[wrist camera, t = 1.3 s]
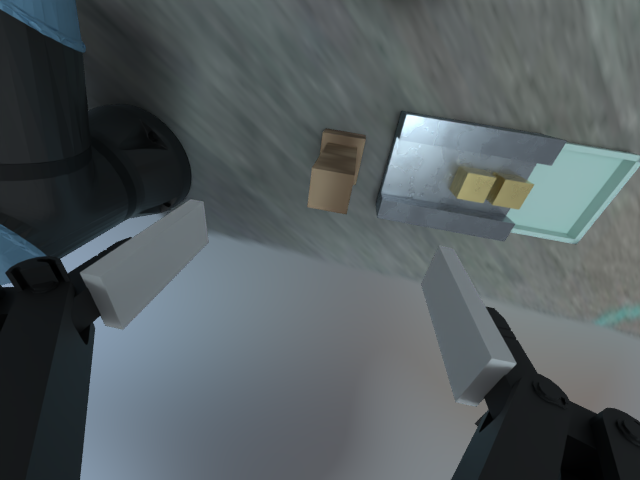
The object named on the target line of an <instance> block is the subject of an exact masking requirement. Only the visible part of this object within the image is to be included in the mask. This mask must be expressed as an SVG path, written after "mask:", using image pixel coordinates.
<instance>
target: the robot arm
mask: <svg viewBox="0 0 640 480" xmlns="http://www.w3.org/2000/svg"><path fill="white" fill-rule="evenodd" d="M83 52H84V53H85V52H86V47H85V45H84V43H83V42H82V41H81V34H80V28H79V22H78V15H77V8H76V1H75V0H0V480H80V474H81V464H82V454H83V443H84V433H85V424H86V414H87V403H88V394H89V383H90V374H91V364H92V354H93V344H94V334H95V327H94V324H93V321H95V320H96V319H97V318H98V317H99V316H101V318H102V320H103V322H104V324H105V326H109V327H114V328H118V329H124V328H125V327H126V326H127V325H128V324H129V323H130V322H131V321H132V320H133V319H134V318H135V317H136V316H137V315H138V314H139V313H140V312H141V311H142V310H143V309H144V308H145V307H146V306H147V305H148V304H149V303H150V302H151V301H152V300H153V299H154V298H155V297H156V296H157V295H158V294H159V293H160V292H161V291H162V290H163V288H164V287H165V286H166V285H167V284H168V283H169V282H170V281H171V280H172V279H173V278H174V277H175V276H176V275H177V274H178V273H179V272H180V271H181V270H182V269H183V268H184V267H185V266H186V265H187V264H188V263H189V262H190V261H191V260H192V259H193V258H194V257H195V256H196V255H197V254H198V253H199V252H200V251H201V250H202V249H203V248H204V246H206V245H207V244H208V233H207V225H206V217H205V209H204V202H203V201H198V200H192V199H190V200H189V201H187V202H186V203H184V204H183V205H181V206H180V207H178V208H177V209H175V210H174V211H172V212H171V213H169V214H168V215H166V216H164V217H163V218H161V219H160V220H159V221H157V222H155V223H154V224H152V225H151V226H150V227H148V228H146V229H145V230H143V231H142V232H140V233H139V234H137V235H136V236H134V237H133V238H132V237H129V238H126V239H124V240H121V241H118V242H116V243H115V244H113V245H112V246H110V247H108V248H107V250H104V251H103V252H101V253H99V254H98V256H94V257H93V258H91V259H90V260H88V261H87V262H85V263H83V264H82V265H80V266H79V267H77V268H76V269H74V270H73V271H71V272H69V273H67V272H66V270H65V268H64V266H63V264H62V262H61V260H60V258H62V257H64V256H65V255H67V254H69V253H71V252H72V251H74V250H76V249H77V248H79V247H81V246H82V245H84V244H86V243H88V242H89V241H91V240H93V239H94V238H96V237H98V236H99V235H101V234H103V233H105V232H106V231H108V230H110V229H111V228H113V227H115V226H116V225H118V224H120V223H121V222H123V221H125V220H127V219H129V218H134V217H140V216H146V215H152V214H158V213H162V212H165V211H167V210H170V209H171V208H173V207H174V206H176V205H177V204H179V203H180V202H181V201H183V199H184V198H185V197H186V195H187V194H188V191H189V188H190V183H191V171H190V166H189V162H188V159H187V156H186V154H185V152H184V150H183V148H182V146H181V144H180V142H179V141H178V139H177V138H176V137H175V135H174V134H173V133H172V132H171V130H170V129H169V128H168V127H167V126H166V125H165V124H164V123H162V122H161V121H160V120H159V119H158V118H156V117H155V116H153V115H152V114H150V113H149V112H147V111H145V110H143V109H140V108H138V107H135V106H131V105H125V104H116V105H105V106H100V107H96V108H94V109H92V110H90V111H88V106H87V95H86V84H85V73H84V62H83ZM7 283H12V284H13V286H14V287H2V286H1V285H4V284H7ZM421 286H422V289H423V292H424V296H425V299H426V303H427V306H428V309H429V313H430V316H431V320H432V323H433V327H434V330H435V334H436V337H437V340H438V344H439V347H440V351H441V354H442V358H443V361H444V364H445V368H446V371H447V375H448V378H449V381H450V385H451V388H452V392H453V395H454V398H455V402H458V403H462V404H467V405H471V406H477V405H478V404H479V403H480V402H481V401H482V400H483V399H484V398H485V401H486V403H487V406H488V409H489V410H488V411H487V412H486V413H485V414H484V415H483V416H482V417H481V418H480V419H479V420H478V421H477V422H476V423H475V424H476V425H477V426H478V427H477V429H476V432H475V433H474V435H473V437H472V439H471V441H470V443H469V445H468V447H467V449H466V451H465V453H464V455H463V457H462V459H461V461H460V463H459V465H458V467H457V469H456V471H455V473H454V475H453V477H452V479H451V480H640V422H639V421H638V420H636V419H634V418H633V417H631V416H630V415H628V414H627V413H625V412H622V411H620V410H617V409H615V408H606V409H604V410H603V411H601V412H600V413H598V414H596V413H594V412H592V411H590V410H588V409H586V408H583V407H581V406H579V405H577V404H575V403H573V402H571V401H569V399H568V397H567V395H566V394H565V393H564V392H563V391H562V390H561V389H560V388H559V386H557V385H556V384H555V383H553V382H552V381H551V380H550V379H548V378H546V377H544V376H542V375H541V374H538V373H537V372H536V370H535V368H534V367H533V365H532V363H531V362H530V360H529V358H528V357H527V355H526V353H525V352H524V350H523V349H522V347H521V345H520V343H519V342H518V340H516V337H515V335H514V334H513V332H512V331H511V329H510V327H509V325H508V324H507V322H506V320H505V319H504V318H503V317H502V316H501V315H500V314H499V313H498V312H497V311H496V310H495V309H494V308H490V307H485V305H484V303H483V301H482V300H481V298H480V296H479V294H478V292H477V291H476V289H475V287H474V285H473V283H472V282H471V280H470V278H469V276H468V274H467V272H466V271H465V269H464V267H463V265H462V263H461V262H460V260H459V258H458V256H457V254H456V253H455V251H454V249H453V248H449V247H444V246H438V248H437V250H436V253H435V255H434V257H433V259H432V261H431V263H430V266H429V268H428V270H427V272H426V274H425V277H424V279H423V281H422V283H421Z"/></svg>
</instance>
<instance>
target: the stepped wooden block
mask: <svg viewBox="0 0 640 480" xmlns="http://www.w3.org/2000/svg"><path fill="white" fill-rule="evenodd" d="M365 140H366V137H365V135H362V134H356V133H350V132H344V131H338V130H332V129H327V128H326V129H325V130H324V131H323V135H322V142H321V150H320V156H319V157H318V159H317V161H316V162H315V164H314V166H313V167H312V172H311V181H310V189H309V198H308V206H307V207H309V208H315V209H320V210H326V211H331V212H336V213H342V214H347V209H348V205H349V200H350V195H351V191H352V186H353V185H356V181H357V176H358V172H359V167H360V163H361V158H362V154H363V149H364V145H365Z"/></svg>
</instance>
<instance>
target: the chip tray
mask: <svg viewBox="0 0 640 480" xmlns="http://www.w3.org/2000/svg"><path fill="white" fill-rule="evenodd" d="M639 166H640V155H638V154H634V153H630V152H624V151H618V150H612V149H605V148H599V147H593V146H587V145H581V144H575V143H569V142H566V144H565V145H564V147H563V148H562V150H561V152H560V153H559V155H558V156H557V158H556V160H555V161H554V163H553V164H552V166H550V165H544V164H538V163H537V164H536V166H535V168H534V169H533V171H532V173H531V174H530V176H529V178H528V181H529V182H531V183H533V184H535V185H534V186H533V188H532V190H531V191H530V193H529V194H528V196H527V198H526V199H525V201H524V203H523V204H522V206H521V207H520V209H519V210H518V209H512V208H510V210H509V212H508V213H507V215H506V216H507V217H508V218H509V219H510V220H512V221H513V222H514V223H515V225H514V227H513V229H512V230H511V232H513V233H518V234H523V235H529V236H534V237H540V238H545V239H550V240H556V241H561V242H567V243H572V244H577V243H578V242H579V241H580V239H581V238H582V237H583V236H584V234H585V233H586V232H587V231H588V229H589V228H590V227H591V226H592V224H593V223H594V222H595V221H596V220H597V218H598V217H599V216H600V215H601V213H602V212H603V211H604V210H605V208H606V207H607V206H608V205H609V203H610V202H611V201H612V200H613V199H614V197H615V196H616V195H617V194H618V192H619V191H620V190H621V189H622V187H623V186H624V185H625V184H626V182H627V181H628V180H629V179H630V178H631V176H632V175H633V174H634V173H635V171H636V170H637V169H638V168H639Z"/></svg>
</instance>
